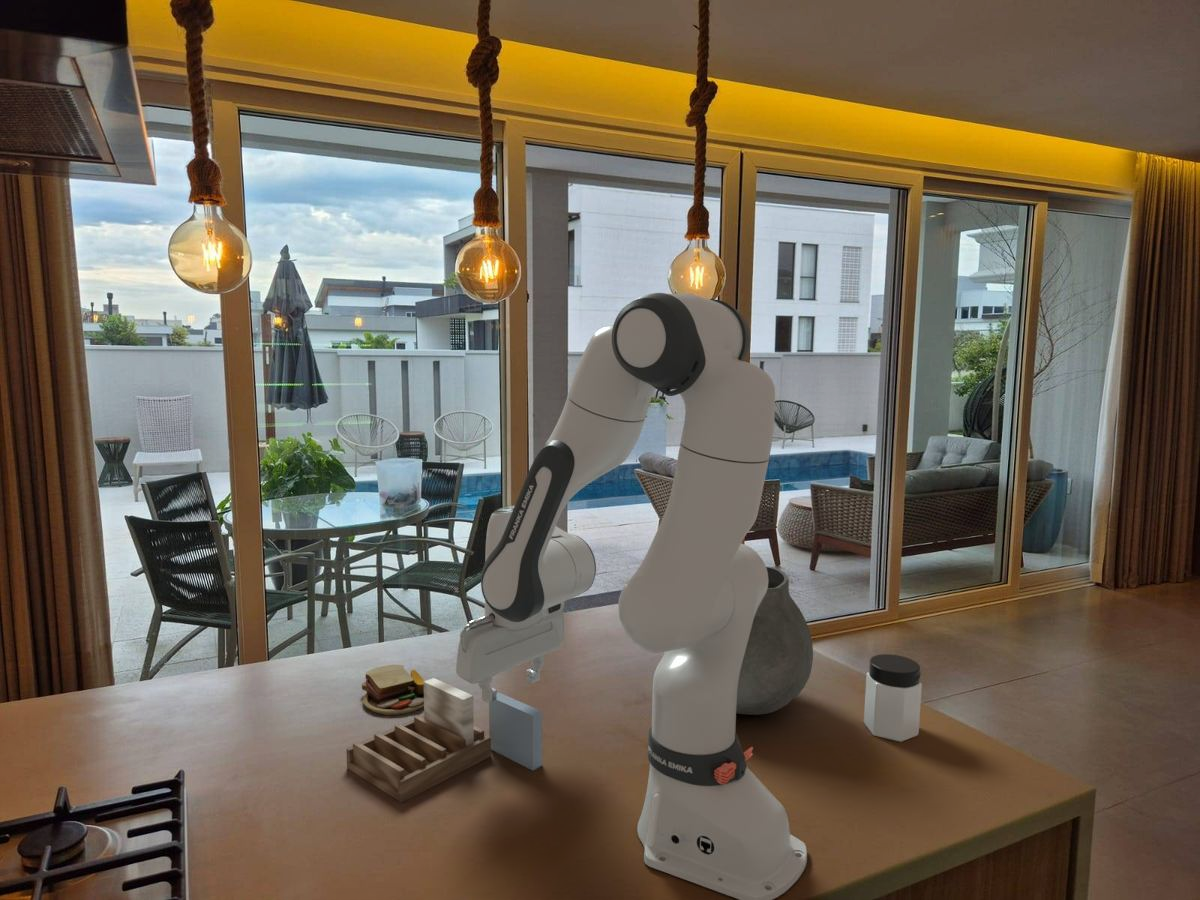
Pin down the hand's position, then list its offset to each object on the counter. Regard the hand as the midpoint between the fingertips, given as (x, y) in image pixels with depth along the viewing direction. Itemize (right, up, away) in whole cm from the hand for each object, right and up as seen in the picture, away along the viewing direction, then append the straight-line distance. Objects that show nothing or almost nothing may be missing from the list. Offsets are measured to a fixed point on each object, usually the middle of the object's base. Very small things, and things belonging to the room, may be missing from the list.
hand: (511, 690), depth 124 cm
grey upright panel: (0, -11, +1) cm, 11 cm away
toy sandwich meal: (-24, -9, +20) cm, 32 cm away
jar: (+64, -10, +11) cm, 66 cm away
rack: (-14, -11, -1) cm, 18 cm away
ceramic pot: (+40, -9, +20) cm, 46 cm away
